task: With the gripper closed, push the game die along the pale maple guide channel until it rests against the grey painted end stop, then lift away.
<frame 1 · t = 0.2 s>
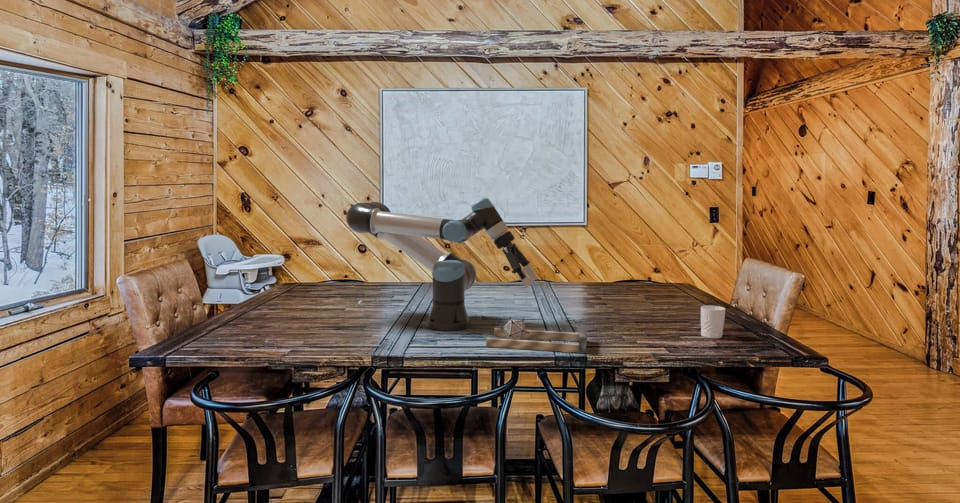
hand: (532, 282, 209), 15 cm above the table, tool tilted 35°, fingers open, 13 cm apart
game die: (514, 342, 183), on the table
white cup: (711, 336, 194), on the table
guide channel: (536, 343, 182), on the table
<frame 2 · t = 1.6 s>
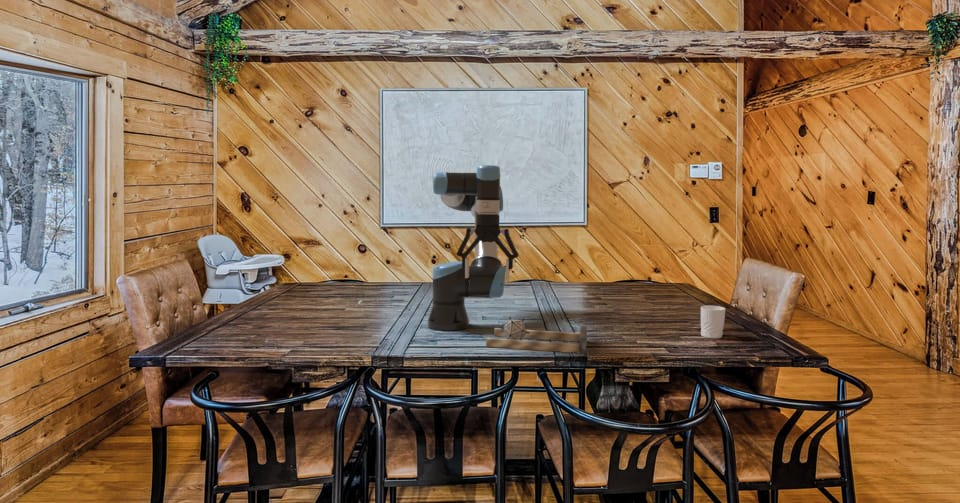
hand: (487, 278, 184), 21 cm above the table, tool pointing down, fingers open, 13 cm apart
nothing on the table moved.
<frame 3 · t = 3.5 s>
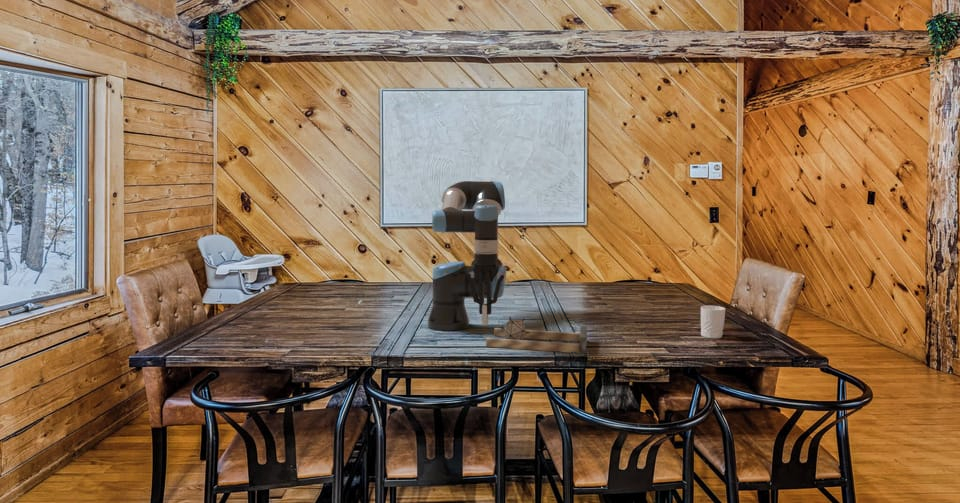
hand: (485, 323, 185), 6 cm above the table, tool pointing down, fingers closed
nothing on the table moved.
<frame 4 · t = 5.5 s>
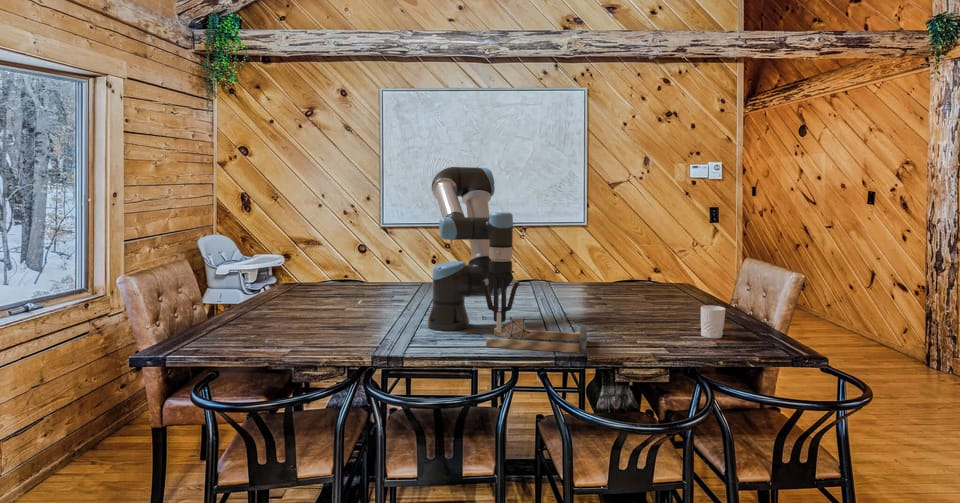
hand: (499, 331, 184), 3 cm above the table, tool pointing down, fingers closed
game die: (515, 342, 183), on the table, touching gripper
everything else where it was.
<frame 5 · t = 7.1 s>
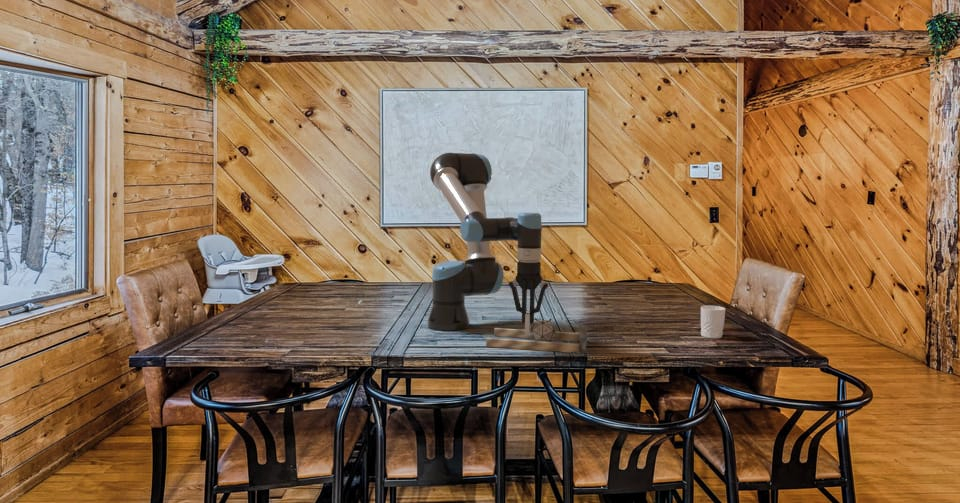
hand: (527, 333, 182), 3 cm above the table, tool pointing down, fingers closed
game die: (542, 343, 183), on the table, touching gripper
everything else where it was.
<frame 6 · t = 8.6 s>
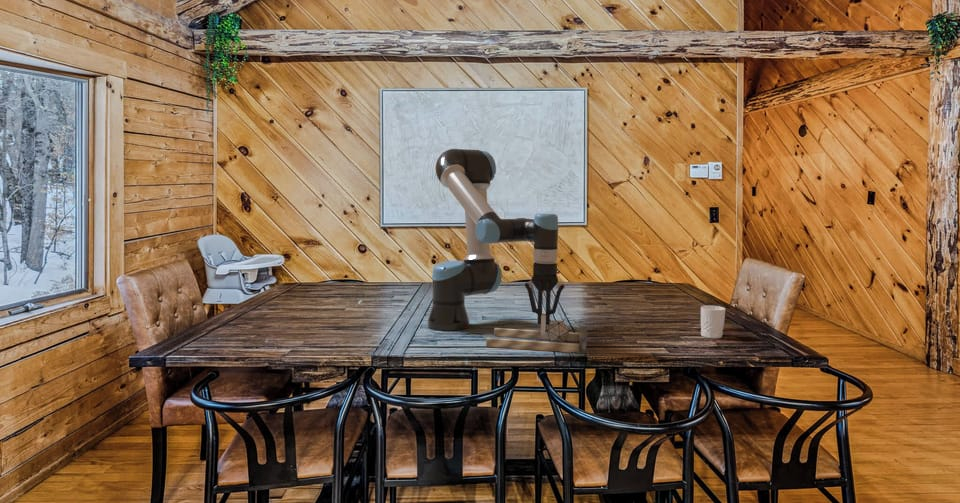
hand: (543, 334, 181), 3 cm above the table, tool pointing down, fingers closed
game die: (556, 344, 182), on the table, touching gripper
everything else where it was.
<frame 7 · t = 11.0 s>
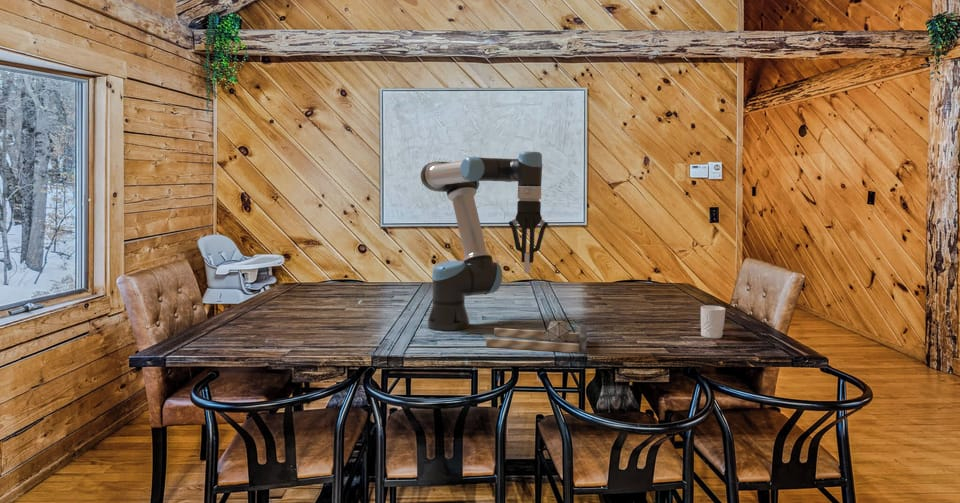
hand: (527, 272, 183), 23 cm above the table, tool pointing down, fingers closed
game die: (557, 344, 182), on the table
everything else where it was.
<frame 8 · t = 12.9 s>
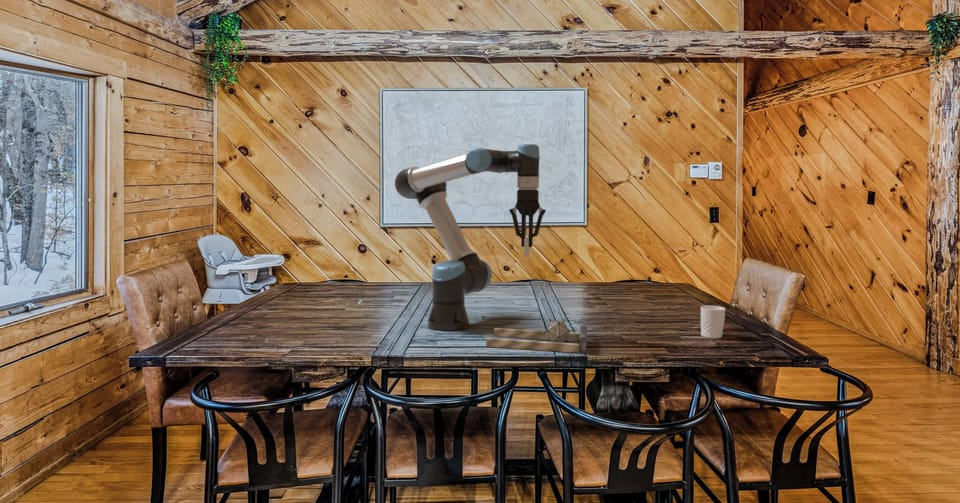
hand: (526, 256, 198), 26 cm above the table, tool pointing down, fingers closed
nothing on the table moved.
at the end: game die inside the target area (2.8 cm from its centre), on the table; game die tilted 0° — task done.
